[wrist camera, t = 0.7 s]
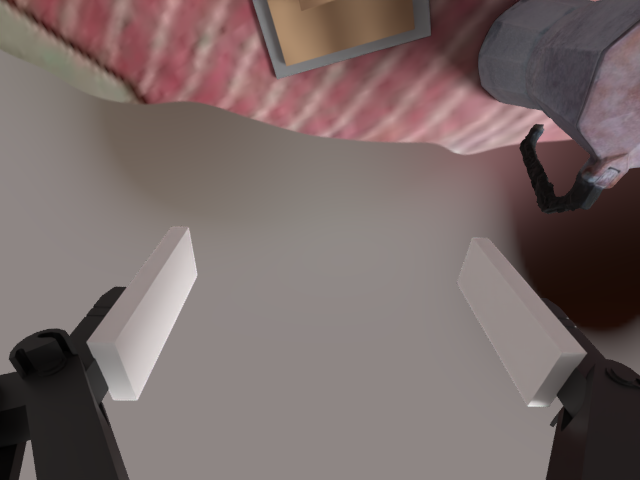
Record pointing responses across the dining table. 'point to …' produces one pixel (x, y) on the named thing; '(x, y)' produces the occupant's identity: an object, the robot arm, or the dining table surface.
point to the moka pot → (571, 85)
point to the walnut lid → (336, 24)
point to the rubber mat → (282, 70)
